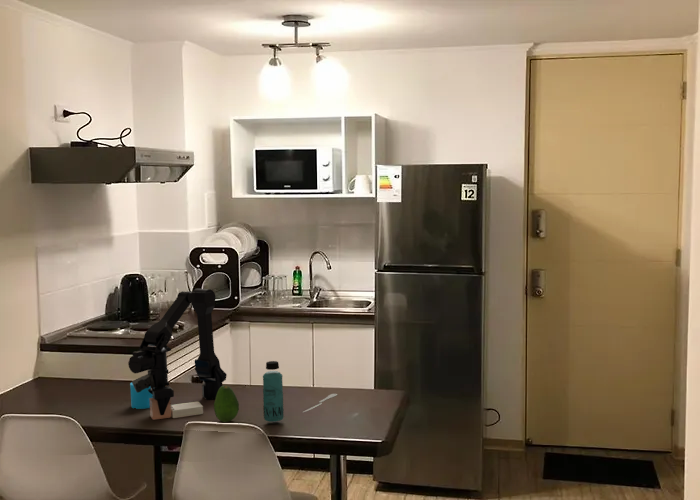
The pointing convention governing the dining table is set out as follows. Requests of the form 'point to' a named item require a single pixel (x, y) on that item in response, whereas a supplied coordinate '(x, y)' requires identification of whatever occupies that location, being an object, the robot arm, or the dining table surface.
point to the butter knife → (322, 401)
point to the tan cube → (155, 410)
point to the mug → (140, 398)
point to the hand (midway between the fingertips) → (160, 412)
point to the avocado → (226, 404)
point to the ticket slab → (186, 409)
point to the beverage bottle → (272, 393)
